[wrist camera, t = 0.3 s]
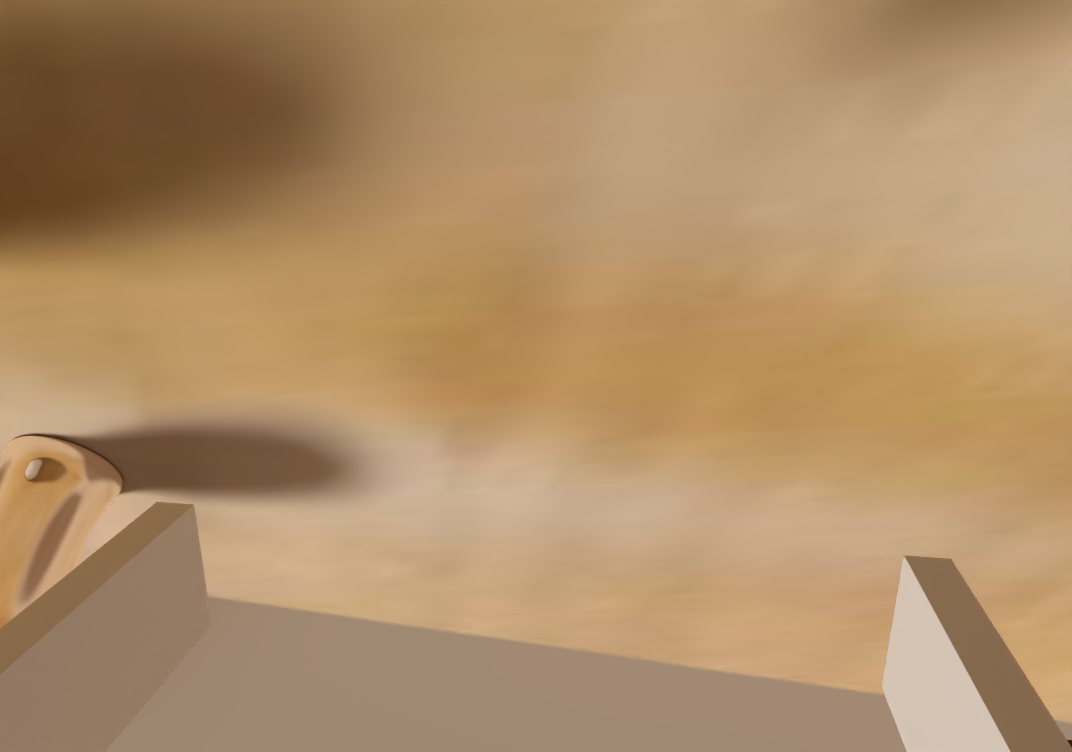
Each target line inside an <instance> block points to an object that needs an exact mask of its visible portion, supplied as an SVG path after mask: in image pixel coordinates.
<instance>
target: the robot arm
mask: <svg viewBox="0 0 1072 752" xmlns="http://www.w3.org/2000/svg"><path fill="white" fill-rule="evenodd" d="M211 625H212V624H211V616H210V610H209V603H208V596H207V590H206V583H205V576H204V570H203V563H202V556H201V549H200V543H199V536H198V529H197V523H196V516H195V509H194V505H192V504H178V503H164V502H156V503H155V504H154V505H153V506H152V507H150V508H149V509H148V510H147V511H145V512H144V513H143V514H142V515H140V516H139V517H138V518H137V519H135V520H134V521H133V522H132V523H130V524H129V525H128V526H127V527H126V528H124V529H123V530H122V531H121V532H119V533H118V534H117V535H116V536H114V537H113V538H112V539H111V540H109V541H108V542H107V543H106V544H104V545H103V546H102V547H101V548H100V549H98V550H97V551H96V552H95V553H93V554H92V555H91V556H90V557H88V558H87V559H86V560H85V561H83V562H82V563H81V564H80V565H78V566H77V567H76V568H75V569H74V570H72V571H71V572H70V573H69V574H67V575H66V576H65V577H64V578H62V579H61V580H60V581H59V582H57V583H56V584H55V585H54V586H52V587H51V588H50V589H49V590H48V591H46V592H45V593H44V594H43V595H41V596H40V597H39V598H38V599H36V600H35V601H34V602H33V603H31V604H30V605H29V606H28V607H26V608H25V609H24V610H23V611H22V612H20V613H19V614H18V615H17V616H15V617H14V618H13V619H12V620H10V621H9V622H8V623H7V624H5V625H4V626H3V627H2V628H0V752H105V751H106V750H107V749H108V747H109V746H110V745H111V744H112V743H113V742H114V740H115V739H116V738H117V737H118V736H119V734H120V733H121V732H122V731H123V730H124V728H125V727H126V726H127V725H128V724H129V723H130V721H131V720H132V719H133V718H134V717H135V715H136V714H137V713H138V712H139V711H140V710H141V708H142V707H143V706H144V705H145V704H146V702H147V701H148V700H149V699H150V698H151V697H152V695H153V694H154V693H155V692H156V691H157V689H158V688H159V687H160V686H161V685H162V684H163V682H164V681H165V680H166V679H167V678H168V676H169V675H170V674H171V673H172V672H173V671H174V669H175V668H176V667H177V665H179V663H180V662H181V661H182V660H183V659H184V657H185V656H186V655H187V654H188V653H189V652H190V650H191V649H192V648H193V647H194V646H195V644H196V643H197V642H198V641H199V640H200V639H201V637H202V636H203V635H204V634H205V633H206V631H207V630H208V629H209V628H210V627H211ZM882 688H883V691H884V694H885V696H886V699H887V701H888V704H889V707H890V709H891V712H892V714H893V717H894V720H895V722H896V725H897V727H898V730H899V733H900V735H901V738H902V741H903V743H904V746H905V748H906V751H907V752H1072V740H1067V739H1066V738H1065V736H1064V735H1063V733H1062V732H1061V730H1060V729H1059V727H1058V726H1057V724H1056V722H1055V721H1054V719H1053V718H1052V716H1051V714H1050V713H1049V711H1048V710H1047V708H1046V707H1045V705H1044V703H1043V702H1042V700H1041V699H1040V697H1039V696H1038V694H1037V693H1036V691H1035V689H1034V688H1033V686H1032V685H1031V683H1030V682H1029V680H1028V678H1027V677H1026V675H1025V674H1024V672H1023V671H1022V669H1021V668H1020V666H1019V664H1018V663H1017V661H1016V660H1015V658H1014V657H1013V655H1012V654H1011V652H1010V650H1009V649H1008V647H1007V646H1006V644H1005V643H1004V641H1003V639H1002V638H1001V636H1000V635H999V633H998V632H997V630H996V629H995V627H994V625H993V624H992V622H991V621H990V619H989V618H988V616H987V615H986V613H985V611H984V610H983V608H982V607H981V605H980V604H979V602H978V600H977V599H976V597H975V596H974V594H973V593H972V591H971V590H970V588H969V586H968V585H967V583H966V582H965V580H964V579H963V577H962V575H961V574H960V572H959V571H958V569H957V568H956V566H955V565H954V563H953V561H952V560H951V559H946V558H932V557H918V556H904V559H903V565H902V571H901V577H900V582H899V588H898V594H897V600H896V606H895V612H894V618H893V624H892V630H891V636H890V642H889V648H888V654H887V659H886V665H885V671H884V677H883V683H882Z"/></svg>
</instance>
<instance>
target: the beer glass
mask: <svg viewBox="0 0 1072 752" xmlns="http://www.w3.org/2000/svg"><path fill="white" fill-rule="evenodd" d="M122 486H123V481H122V478H121V476H120V474H119V472H118V471H117V470H116V469H115V468H114V466H112V465H111V464H110V463H109V462H108V461H106V460H105V459H104V458H102V457H101V456H99V455H97V454H96V453H94V452H92V451H90V450H88V449H86V448H84V447H82V446H79V445H77V444H74V443H71V442H68V441H65V440H61V439H57V438H52V437H47V436H35V435H31V436H22V437H18V438H15V439H13V440H12V441H10V442H9V443H8V444H7V446H6V447H5V449H4V452H3V454H2V457H1V460H0V628H2V627H3V626H4V625H5V624H7V623H8V622H9V621H10V620H12V619H13V618H14V617H15V616H17V615H18V614H19V613H20V612H22V611H23V610H24V609H25V608H26V607H28V606H29V605H30V604H31V603H33V602H34V601H35V600H36V599H38V598H39V597H40V596H41V595H43V594H44V593H45V592H46V591H48V590H49V589H50V588H51V587H52V586H54V585H55V584H56V583H57V582H59V581H60V580H61V579H62V578H64V577H65V576H66V575H67V574H69V573H70V572H71V571H72V570H74V569H75V568H76V567H77V564H78V561H79V558H80V555H81V553H82V550H83V548H84V546H85V543H86V541H87V539H88V537H89V535H90V533H91V532H92V530H93V528H94V526H95V525H96V523H97V522H98V520H99V519H100V518H101V516H102V515H103V514H104V512H105V511H106V510H107V508H108V507H109V506H110V505H111V503H112V502H113V501H114V500H115V498H116V497H117V496H118V494H119V493H120V491H121V489H122Z"/></svg>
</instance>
